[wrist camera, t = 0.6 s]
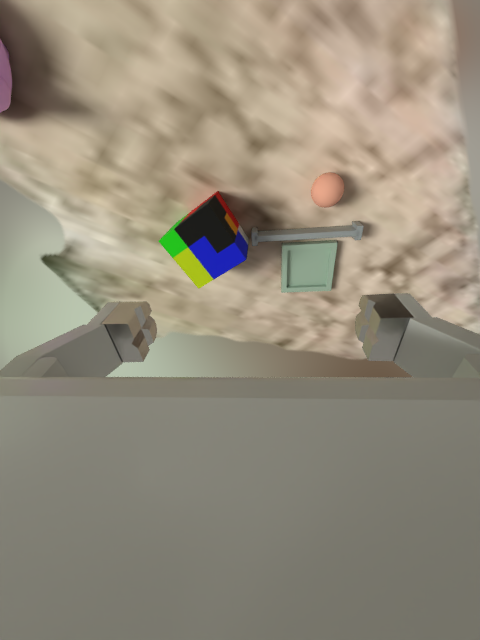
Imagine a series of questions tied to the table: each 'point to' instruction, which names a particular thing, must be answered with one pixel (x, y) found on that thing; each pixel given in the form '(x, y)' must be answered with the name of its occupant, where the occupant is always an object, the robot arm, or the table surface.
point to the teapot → (5, 78)
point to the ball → (327, 189)
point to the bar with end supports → (308, 233)
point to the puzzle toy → (207, 241)
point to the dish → (307, 266)
